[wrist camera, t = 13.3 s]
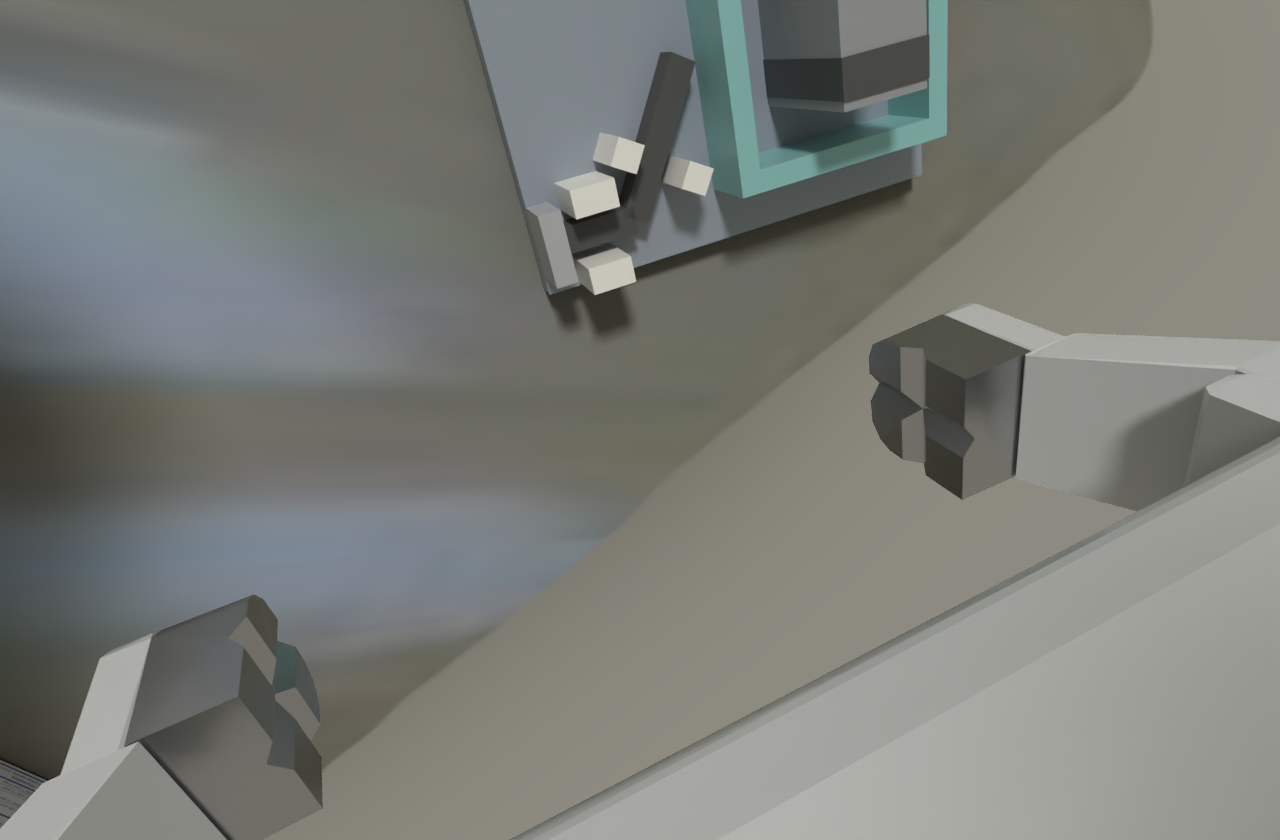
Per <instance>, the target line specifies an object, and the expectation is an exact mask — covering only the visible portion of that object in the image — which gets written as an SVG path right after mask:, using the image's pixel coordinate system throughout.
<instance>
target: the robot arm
mask: <svg viewBox="0 0 1280 840" xmlns="http://www.w3.org/2000/svg"><path fill="white" fill-rule="evenodd" d="M869 371H870V374H871V375H872V376H873V377H874V378H875V379H876V380H877V381H878V382H879V385H878V387H877V389H876V391H875V393H874V395H873V397H872V400H871V408H872V419H873V423H874V426H875V428H876V430H877V432H878V434H879V437H880V439H881V440H882V441H883V443H884V444H885V445H886V446H887V447H888V448H889V450H890V451H892V452H893V453H895V454H896V455H897V456H899V457H900V458H902V459H903V460H909V461H915V462H921V463H924V468H925V473H926V476H928V477H929V478H931V479H932V480H934V481H935V482H937V483H938V484H940V485H941V486H942V487H944V488H945V489H947V490H948V491H950V492H951V493H953V494H954V495H956V496H957V497H959V498H960V499H962V500H963V499H965V498H967V497H970V496H972V495H974V494H976V493H979V492H981V491H983V490H985V489H987V488H990V487H992V486H994V485H997V484H999V483H1001V482H1003V481H1006V480H1008V479H1010V478H1012V477H1015V476H1016V479H1017V480H1021V481H1024V482H1029V483H1032V484H1036V485H1040V486H1044V487H1048V488H1051V489H1055V490H1059V491H1062V492H1066V493H1070V494H1074V495H1077V496H1081V497H1085V498H1089V499H1093V500H1097V501H1100V502H1104V503H1108V504H1112V505H1115V506H1119V507H1123V508H1127V509H1130V510H1135V511H1137V512H1135V513H1133V514H1131V515H1129V516H1128V517H1126V518H1124V519H1122V520H1120V521H1118V522H1116V523H1114V524H1112V525H1110V526H1109V527H1107V528H1105V529H1103V530H1101V531H1099V532H1097V533H1095V534H1093V535H1091V536H1089V537H1088V538H1086V539H1084V540H1082V541H1080V542H1078V543H1076V544H1074V545H1072V546H1070V547H1068V548H1067V549H1065V550H1063V551H1061V552H1059V553H1057V554H1055V555H1053V556H1051V557H1049V558H1047V559H1045V560H1044V561H1042V562H1039V563H1038V564H1036V565H1034V566H1032V567H1030V568H1028V569H1026V570H1024V571H1022V572H1020V573H1018V574H1017V575H1015V576H1013V577H1011V578H1009V579H1007V580H1005V581H1003V582H1001V583H999V584H997V585H995V586H993V587H991V588H990V589H988V590H986V591H984V592H982V593H980V594H978V595H976V596H974V597H972V598H971V599H969V600H967V601H965V602H963V603H961V604H959V605H957V606H955V607H953V608H951V609H949V610H947V611H945V612H944V613H942V614H940V615H938V616H936V617H934V618H932V619H930V620H929V621H926V622H924V623H922V624H920V625H919V626H917V627H915V628H913V629H911V630H909V631H907V632H905V633H903V634H901V635H899V636H898V637H896V638H894V639H892V640H890V641H888V642H886V643H884V644H882V645H880V646H878V647H877V648H875V649H873V650H871V651H869V652H867V653H865V654H863V655H861V656H859V657H858V658H856V659H854V660H852V661H850V662H848V663H846V664H844V665H842V666H840V667H838V668H836V669H835V670H833V671H831V672H829V673H827V674H825V675H823V676H821V677H819V678H817V679H816V680H813V681H812V682H810V683H808V684H806V685H804V686H802V687H800V688H798V689H796V690H795V691H793V692H791V693H789V694H787V695H785V696H783V697H781V698H779V699H777V700H775V701H774V702H772V703H770V704H768V705H766V706H764V707H762V708H760V709H758V710H756V711H754V712H752V713H751V714H749V715H747V716H745V717H743V718H741V719H739V720H737V721H736V722H733V723H732V724H730V725H728V726H726V727H724V728H722V729H720V730H718V731H716V732H714V733H712V734H710V735H709V736H707V737H705V738H703V739H701V740H699V741H697V742H695V743H693V744H692V745H690V746H688V747H686V748H684V749H682V750H680V751H678V752H676V753H674V754H672V755H670V756H668V757H667V758H665V759H663V760H661V761H659V762H657V763H655V764H653V765H651V766H649V767H648V768H646V769H644V770H642V771H640V772H638V773H636V774H634V775H632V776H631V777H628V778H627V779H625V780H623V781H621V782H619V783H617V784H615V785H613V786H611V787H609V788H607V789H605V790H603V791H602V792H600V793H598V794H596V795H594V796H592V797H590V798H588V799H586V800H584V801H583V802H581V803H579V804H577V805H575V806H573V807H571V808H569V809H567V810H565V811H563V812H562V813H560V814H558V815H556V816H554V817H552V818H550V819H548V820H546V821H544V822H542V823H541V824H539V825H537V826H535V827H533V828H531V829H529V830H527V831H525V832H523V833H522V834H520V835H518V836H516V837H514V838H512V839H510V840H1280V341H1259V340H1233V339H1208V338H1183V337H1182V338H1181V337H1158V336H1157V337H1156V336H1132V335H1106V334H1080V333H1074V334H1072V335H1070V336H1067V337H1064V336H1062V335H1059V334H1056V333H1053V332H1051V331H1048V330H1045V329H1042V328H1040V327H1037V326H1035V325H1032V324H1029V323H1027V322H1024V321H1021V320H1019V319H1016V318H1013V317H1011V316H1008V315H1005V314H1003V313H1000V312H997V311H994V310H992V309H989V308H986V307H984V306H981V305H978V304H963V305H960V306H958V307H956V308H954V309H951V310H949V311H947V312H945V313H943V314H940V315H938V316H936V317H934V318H933V319H930V320H928V321H926V322H923V323H921V324H919V325H916V326H914V327H912V328H910V329H907V330H905V331H903V332H900V333H898V334H896V335H893V336H891V337H889V338H887V339H884V340H882V341H879V342H877V343H875V344H873V346H872V349H871V352H870V355H869ZM277 627H278V619H277V618H276V617H275V615H274V614H273V612H272V611H271V610H270V608H269V607H268V605H267V604H266V603H265V601H264V600H263V599H262V598H260V597H258V596H256V595H251V596H249V597H246V598H243V599H241V600H238V601H236V602H233V603H230V604H228V605H225V606H223V607H220V608H217V609H215V610H212V611H210V612H207V613H204V614H202V615H199V616H197V617H194V618H191V619H189V620H186V621H184V622H181V623H178V624H176V625H173V626H171V627H168V628H165V629H163V630H160V631H159V632H158V633H152V634H149V635H147V636H144V637H142V638H140V639H137V640H135V641H132V642H130V643H128V644H125V645H123V646H120V647H118V648H116V649H113V650H111V651H109V652H108V653H107V654H105V655H104V656H103V657H101V658H100V660H99V662H98V665H97V668H96V671H95V674H94V677H93V679H92V682H91V685H90V688H89V691H88V694H87V697H86V700H85V703H84V706H83V709H82V712H81V715H80V718H79V721H78V724H77V727H76V730H75V733H74V736H73V739H72V742H71V744H70V747H69V750H68V753H67V756H66V759H65V762H64V765H63V768H62V771H61V774H60V776H58V777H56V778H53V779H51V780H49V781H47V782H44V783H42V784H41V785H40V787H39V788H38V789H37V790H36V791H35V792H34V793H33V794H32V795H31V796H30V797H29V798H28V799H27V801H26V802H25V803H24V804H23V805H22V806H21V807H20V808H19V809H18V810H17V811H16V812H15V813H14V814H13V816H12V817H11V818H10V819H9V820H8V821H7V822H6V823H5V824H4V825H3V826H2V827H1V828H0V840H262V839H264V838H265V837H267V836H270V835H272V834H274V833H275V832H277V831H279V830H281V829H283V828H285V827H287V826H289V825H291V824H293V823H295V822H297V821H299V820H301V819H303V818H305V817H307V816H308V815H311V814H312V813H314V812H316V811H318V810H320V809H322V808H323V805H322V757H321V755H320V754H319V752H318V751H317V750H316V748H315V747H314V745H313V744H312V742H311V740H312V738H313V736H314V735H315V733H316V731H317V730H318V728H319V726H320V725H321V723H320V704H319V700H318V696H317V692H316V689H315V685H314V681H313V678H312V676H311V674H310V672H309V670H308V667H307V665H306V663H305V661H304V660H303V658H302V656H301V655H300V653H299V652H298V650H297V649H296V647H294V646H291V645H288V644H285V643H282V642H279V641H277Z"/></svg>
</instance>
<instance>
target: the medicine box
mask: <svg viewBox="0 0 1280 840" xmlns="http://www.w3.org/2000/svg"><path fill="white" fill-rule="evenodd" d="M44 782H47V780H45V779H43V778H40V777H38V776H36V775H34V774H31V773H29V772H27V771H24V770H22V769H20V768H18V767H15V766H13V765H11V764H9V763H6V762H4V761H2V760H0V828H1V827H2V826H3V825H4V824H5V823H6V822H7V821H8V820H9V819H10V818H11V817H12V816H13V814H14V813H15V812H16V811H17V810H18V809H19V808H20V807H21V806H22V805H23V804H24V803H25V802H26V801H27V799H28V798H29V797H30V796H31V795H32V794H33V793H34V792H35V791H36V790H37V789H38V788H39V787H40V785H41V784H42V783H44Z"/></svg>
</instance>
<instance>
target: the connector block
mask: <svg viewBox="0 0 1280 840" xmlns="http://www.w3.org/2000/svg"><path fill="white" fill-rule="evenodd" d="M758 10H759V19H760V28H761V38H762V47H763V56H764V60H763V66H764V75H765V84H766V93H767V97H768V103H769V106H774V107H786V108H798V109H809V110H821V111H833V112H848V111H851V110H854V109H858V108H861V107H865V106H868V105H872V104H875V103H878V102H882V101H885V100H889V99H892V98H896V97H899V96H902V95H906V94H909V93H913V92H916V91H920V90H923V89H926V88H927V78H930V46H929V34H927V11H926V0H758Z"/></svg>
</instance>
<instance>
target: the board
mask: <svg viewBox="0 0 1280 840" xmlns="http://www.w3.org/2000/svg"><path fill="white" fill-rule="evenodd" d="M464 3H465V7H466V10H467V14H468V17H469V21H470V24H471V28H472V32H473V35H474V39H475V42H476V46H477V49H478V53H479V57H480V60H481V64H482V67H483V71H484V75H485V78H486V82H487V85H488V89H489V92H490V96H491V100H492V103H493V107H494V110H495V114H496V117H497V121H498V125H499V128H500V132H501V135H502V139H503V143H504V146H505V150H506V153H507V157H508V160H509V164H510V168H511V171H512V175H513V178H514V182H515V185H516V189H517V193H518V196H519V200H520V203H521V207H522V210H523V214H524V218H525V221H526V225H527V228H528V232H529V236H530V239H531V243H532V246H533V250H534V253H535V257H536V261H537V264H538V268H539V271H540V275H541V278H542V282H543V286H544V289H545V291H546V292H547V293H548V294H549V295H552V294H555V293H558V292H561V291H564V290H567V289H570V288H573V287H576V286H579V285H584V286H585V287H586V288H587V289H588V290H589V291H591V292H592V293H593V294H594V295H597V294H600V293H603V292H606V291H609V290H612V289H615V288H618V287H621V286H625V285H628V284H631V283H634V282H636V278H635V273H634V268H635V267H638V266H641V265H645V264H648V263H651V262H654V261H657V260H660V259H663V258H666V257H669V256H672V255H676V254H679V253H682V252H685V251H688V250H691V249H694V248H697V247H700V246H703V245H707V244H710V243H713V242H716V241H719V240H722V239H725V238H728V237H731V236H734V235H738V234H741V233H744V232H747V231H750V230H753V229H756V228H759V227H762V226H765V225H769V224H772V223H775V222H778V221H781V220H784V219H787V218H790V217H793V216H796V215H800V214H803V213H806V212H809V211H812V210H815V209H818V208H821V207H824V206H827V205H831V204H834V203H837V202H840V201H843V200H846V199H849V198H852V197H855V196H858V195H862V194H865V193H868V192H871V191H874V190H877V189H880V188H883V187H886V186H889V185H893V184H896V183H899V182H902V181H905V180H908V179H911V178H914V177H917V176H920V175H922V143H920V144H917V145H914V146H910V147H907V148H904V149H901V150H898V151H894V152H891V153H888V154H885V155H881V156H878V157H875V158H872V159H869V160H865V161H862V162H859V163H856V164H853V165H849V166H846V167H843V168H840V169H836V170H833V171H830V172H827V173H824V174H820V175H817V176H814V177H811V178H807V179H804V180H801V181H798V182H795V183H791V184H788V185H785V186H782V187H779V188H775V189H772V190H769V191H766V192H762V193H759V194H756V195H753V196H750V197H746V198H740V197H737V196H734V195H731V194H727V193H724V192H721V191H718V190H715V189H713V183H712V173H713V170H714V168H711V167H710V162H709V156H708V149H707V142H706V136H705V129H704V122H703V115H702V109H701V102H700V95H699V89H698V82H697V75H696V68H695V66H694V70H693V73H692V76H691V80H690V83H689V86H688V90H687V93H686V97H685V100H684V103H683V107H682V110H681V113H680V117H679V120H678V124H677V127H676V130H675V134H674V137H673V140H672V144H671V147H670V150H669V154H668V157H667V161H666V164H665V167H664V171H663V174H662V177H661V181H660V184H659V188H658V191H657V194H656V198H655V201H654V204H653V208H652V211H651V215H650V218H649V221H648V223H646V222H642V221H639V220H636V221H637V226H638V231H639V233H637V234H634V235H630V236H627V237H624V238H621V239H618V240H614V241H611V242H608V243H605V244H602V245H598V246H595V247H592V248H589V249H586V250H582V251H579V252H576V253H573V254H571V250H570V246H569V242H568V238H567V234H566V230H565V226H564V222H563V221H565V220H568V219H571V218H575V219H576V220H577V219H580V218H583V217H587V216H590V215H593V214H597V213H600V212H603V211H607V210H610V209H613V208H617V207H620V203H619V198H620V194H621V190H622V187H623V183H624V180H625V176H626V173H627V172H630V173H634V174H637V171H638V168H639V164H640V161H641V157H642V154H643V150H644V146H645V145H643V144H639V143H636V142H635V141H636V137H637V134H638V130H639V126H640V123H641V119H642V116H643V112H644V109H645V105H646V102H647V98H648V94H649V91H650V87H651V84H652V80H653V77H654V73H655V70H656V66H657V62H658V59H659V55H660V52H673V53H676V54H678V55H680V56H683V57H685V58H688V59H690V60H693V61H694V55H693V48H692V42H691V35H690V28H689V21H688V15H687V8H686V1H685V0H464ZM741 8H742V16H743V25H744V33H745V42H746V51H747V59H748V68H749V76H750V85H751V94H752V102H753V111H754V119H755V128H756V136H757V145H758V154H759V153H762V152H765V151H769V150H772V149H776V148H779V147H782V146H786V145H789V144H792V143H796V142H799V141H802V140H806V139H809V138H813V137H816V136H819V135H823V134H826V133H829V132H833V131H836V130H840V129H843V128H846V127H850V126H853V125H856V124H860V123H863V122H866V121H870V120H873V119H877V118H880V117H883V116H887V115H888V100H885V101H882V102H878V103H875V104H872V105H868V106H865V107H861V108H858V109H854V110H851V111H848V112H833V111H821V110H809V109H798V108H786V107H774V106H769V103H768V97H767V93H766V84H765V75H764V66H763V60H764V56H763V47H762V38H761V28H760V19H759V10H758V0H741Z"/></svg>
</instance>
